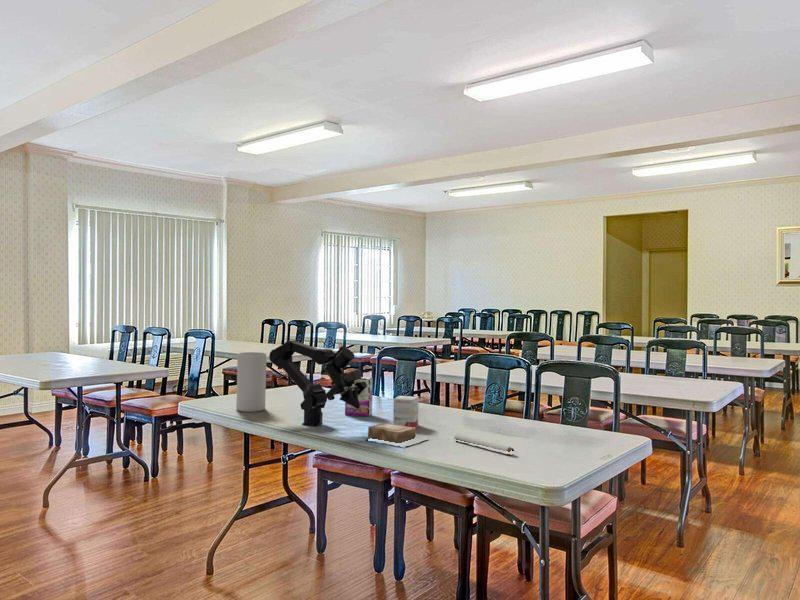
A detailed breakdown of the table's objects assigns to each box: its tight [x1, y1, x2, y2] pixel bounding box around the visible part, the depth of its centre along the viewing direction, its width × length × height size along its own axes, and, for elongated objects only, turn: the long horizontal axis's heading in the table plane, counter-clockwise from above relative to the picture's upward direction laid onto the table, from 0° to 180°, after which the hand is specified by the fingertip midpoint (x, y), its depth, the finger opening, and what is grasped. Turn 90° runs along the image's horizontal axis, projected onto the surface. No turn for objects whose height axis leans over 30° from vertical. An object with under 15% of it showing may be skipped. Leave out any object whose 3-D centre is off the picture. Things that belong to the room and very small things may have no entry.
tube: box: [454, 433, 515, 452], centre depth 213 cm, size 3×3×25 cm
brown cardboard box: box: [367, 422, 417, 443], centre depth 223 cm, size 4×10×14 cm
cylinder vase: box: [235, 351, 268, 413], centre depth 272 cm, size 12×12×25 cm
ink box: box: [392, 395, 419, 428], centre depth 246 cm, size 9×9×12 cm
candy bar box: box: [344, 376, 374, 417], centre depth 266 cm, size 11×5×16 cm, turn 76°
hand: (358, 408), depth 232 cm, fingers closed
